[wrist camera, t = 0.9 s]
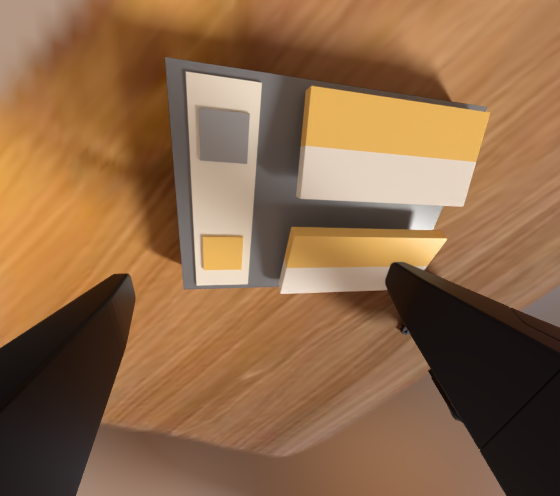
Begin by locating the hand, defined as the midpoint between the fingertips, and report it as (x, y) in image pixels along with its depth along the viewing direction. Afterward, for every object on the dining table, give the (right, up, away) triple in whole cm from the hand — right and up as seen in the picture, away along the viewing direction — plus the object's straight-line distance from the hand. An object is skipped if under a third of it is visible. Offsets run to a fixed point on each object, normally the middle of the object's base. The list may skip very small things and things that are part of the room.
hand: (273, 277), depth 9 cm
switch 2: (+6, 0, +12) cm, 14 cm away
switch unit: (+3, +6, +13) cm, 14 cm away
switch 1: (+7, +7, +8) cm, 13 cm away
